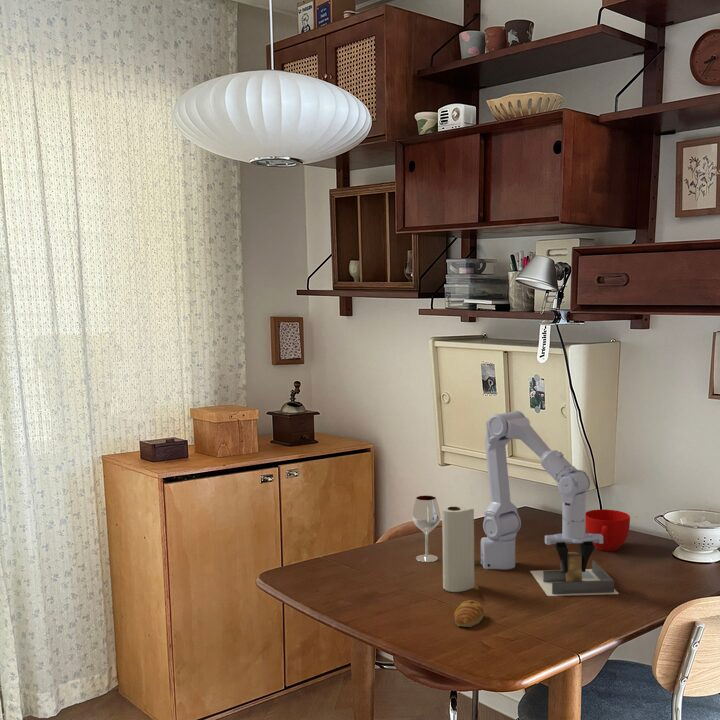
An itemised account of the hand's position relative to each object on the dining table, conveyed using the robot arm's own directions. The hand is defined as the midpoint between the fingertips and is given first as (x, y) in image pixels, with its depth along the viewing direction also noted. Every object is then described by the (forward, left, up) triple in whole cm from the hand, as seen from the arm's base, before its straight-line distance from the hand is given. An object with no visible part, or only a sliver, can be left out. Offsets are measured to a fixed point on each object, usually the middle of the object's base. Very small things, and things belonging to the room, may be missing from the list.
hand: (573, 570), depth 208 cm
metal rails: (+1, +4, -4) cm, 6 cm away
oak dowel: (0, 0, -3) cm, 3 cm away
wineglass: (-35, +29, -5) cm, 45 cm away
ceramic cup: (+19, +33, -6) cm, 38 cm away
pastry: (-30, -16, -6) cm, 34 cm away
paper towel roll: (-30, +4, -5) cm, 30 cm away
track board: (+1, +4, -5) cm, 6 cm away
